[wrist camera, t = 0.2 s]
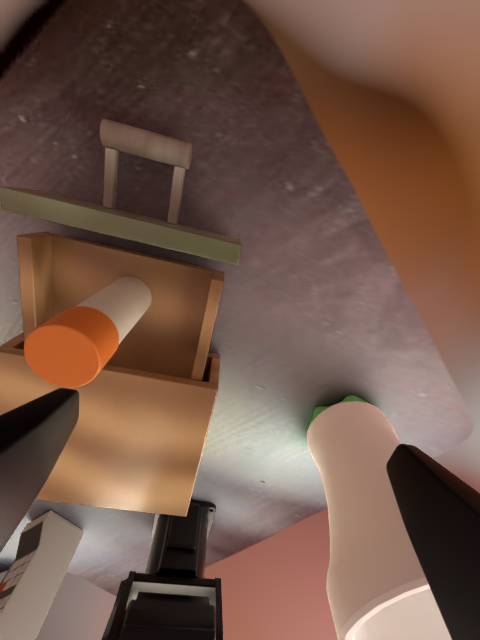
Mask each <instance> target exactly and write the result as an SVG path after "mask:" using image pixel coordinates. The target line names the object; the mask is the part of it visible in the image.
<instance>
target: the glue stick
mask: <svg viewBox="0 0 480 640" xmlns="http://www.w3.org/2000/svg"><path fill="white" fill-rule="evenodd" d="M151 301H152V295H151V291H150V289H149V287H148V286H147V285H146V284H145V283H144V282H143V281H142V280H140V279H138V278H136V277H131V276H125V277H122V278H119V279H118V280H116V281H114V282H113V283H111V284H110V285H108V286H107V287H105V288H103V289H102V290H100V291H99V292H97V293H96V294H94V295H92V296H91V297H89V298H88V299H86V300H84V301H83V302H81V303H80V304H78V305H77V306H75V307H71V308H68V309H66V310H64V311H63V312H61V313H60V314H58V315H56V316H55V317H53V318H52V319H50V320H48V321H47V322H45V323H43V324H42V325H40V326H39V327H37V328H35V329H34V330H33V331H31V332H30V334H29V335H28V336H27V338H26V340H25V343H24V356H25V359H26V361H27V363H28V365H29V367H30V368H31V369H32V370H33V372H34V373H35V374H37V375H38V376H39V377H40V378H42V379H43V380H45V381H47V382H49V383H51V384H53V385H56V386H61V387H71V388H72V387H79V386H82V385H85V384H87V383H89V382H91V381H92V380H93V379H94V378H95V377H96V376H97V375H98V373H99V372H100V371H101V369H102V368H103V367H104V366H105V364H106V363H107V362H108V361H109V359H110V358H111V357H112V356H113V354H114V353H115V352H116V350H117V348H118V345H119V344H120V342H121V341H122V340H123V339H124V338H125V336H126V335H127V334H128V333H129V331H130V330H131V329H132V328H133V327H134V325H135V324H136V323H137V322H138V320H139V319H140V318H141V317H142V315H143V314H144V313H145V312H146V311H147V309H148V308H149V307H150V305H151Z"/></svg>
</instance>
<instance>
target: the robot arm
mask: <svg viewBox="0 0 480 640" xmlns="http://www.w3.org/2000/svg"><path fill="white" fill-rule="evenodd" d="M78 417H79V392H78V391H77V390H75V389H69V388H58V389H56V390H54V391H52V392H49V393H47V394H45V395H43V396H41V397H39V398H36V399H34V400H32V401H30V402H28V403H26V404H23V405H21V406H19V407H17V408H15V409H13V410H10V411H8V412H6V413H4V414H2V415H0V552H1V551H2V549H3V548H4V546H5V545H6V543H7V542H8V540H9V539H10V537H11V535H12V534H13V532H14V531H15V529H16V528H17V526H18V525H19V523H20V522H21V520H22V519H23V517H24V516H25V514H26V513H27V511H28V510H29V508H30V506H31V505H32V503H33V502H34V500H35V499H36V497H37V496H38V494H39V493H40V491H41V489H42V488H43V486H44V484H45V483H46V481H47V479H48V477H49V475H50V473H51V471H52V470H53V468H54V466H55V464H56V462H57V460H58V458H59V456H60V454H61V452H62V451H63V449H64V447H65V445H66V443H67V441H68V439H69V437H70V435H71V433H72V431H73V430H74V428H75V426H76V424H77V421H78ZM386 471H387V474H388V477H389V480H390V483H391V486H392V489H393V492H394V495H395V498H396V502H397V505H398V508H399V511H400V514H401V517H402V520H403V523H404V525H405V528H406V531H407V533H408V536H409V539H410V541H411V543H412V546H413V548H414V551H415V553H416V555H417V558H418V560H419V563H420V565H421V567H422V570H423V572H424V575H425V577H426V579H427V582H428V584H429V587H430V589H431V591H432V594H433V596H434V599H435V601H436V603H437V606H438V608H439V610H440V613H441V615H442V618H443V620H444V622H445V625H446V627H447V630H448V632H449V634H450V637H451V639H452V640H480V493H478V492H477V491H476V490H474V489H473V488H471V487H470V486H469V485H467V484H466V483H465V482H463V481H462V480H460V479H459V478H458V477H457V476H455V475H454V474H452V473H451V472H450V471H448V470H447V469H445V468H444V467H443V466H442V465H440V464H439V463H437V462H436V461H435V460H433V459H432V458H431V457H429V456H428V455H427V454H425V453H424V452H422V451H421V450H420V449H418V448H417V447H415V446H412V445H407V444H399V445H398V446H397V447H396V449H395V450H394V452H393V453H392V455H391V457H390V458H389V460H388V462H387V465H386ZM215 512H216V506H215V505H214V504H209V503H201V502H192V501H190V503H189V507H188V511H187V515H186V517H185V516H176V515H167V514H158V513H155V518H154V523H153V529H152V534H151V536H152V537H154V538H153V543H152V547H151V551H150V556H149V560H148V564H147V569H146V573H145V574H143V573H136V572H135V571H130V573H129V577H128V578H127V579H126V580H124V581H121V584H120V587H119V591H118V594H117V598H116V602H115V604H114V607H113V610H112V613H111V616H110V618H109V621H108V624H107V627H106V629H105V632H104V634H103V637H102V640H223V626H222V625H223V624H222V597H221V579H220V578H215V579H206V578H204V573H205V558H206V544H207V537H208V534H209V531H210V528H211V524H212V521H213V518H214V515H215Z"/></svg>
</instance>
